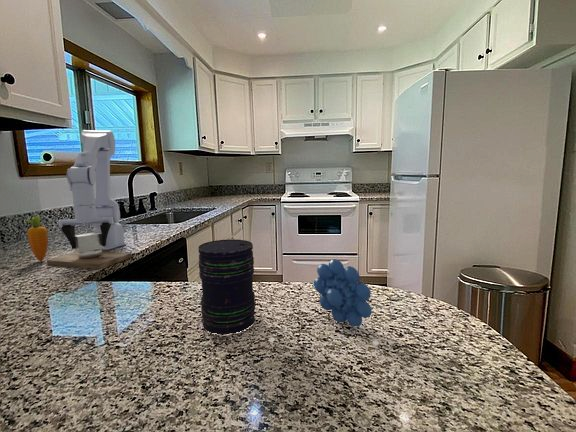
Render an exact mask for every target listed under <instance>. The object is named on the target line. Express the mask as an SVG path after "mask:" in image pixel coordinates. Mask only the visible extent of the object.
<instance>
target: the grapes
mask: <svg viewBox="0 0 576 432" xmlns="http://www.w3.org/2000/svg"><path fill="white" fill-rule="evenodd" d="M316 272H317V275H318V277H316V278H315V279H314V280H313V287H314V289H315V291H317V293H318V294H320V296H319V298H318V299H319V300H318V301H319V304H320V306H321V307H322V308H323V309H324V310H326V311H331V315H332V319H334V321H335V322H336V321H337V322H336V323H338V322H345V321H346V322H348V323H349V325H351V326H352V325H353V326H352V327H354V326H357V327H360V326H361V325H362V323H363V319H367V318H370V317H371V316H372V311H373V310H372V307H371V304H370V303H369V302H368V301H369V300H370V298H371V295H372V293H371V290H370V287H369V286H368V285H367V284H366V283H364V282H361V281H360V279H361V278H360V273H359V271H358V270H357V269H356V268H355V267H353V266H351V265H350V266H346V267H344V265H343V262H341V261H340V260H339V259H336V258H334V259H331V260H330V261H329V262H328V264H326V263H320V264H318V267H317V268H316ZM346 322H345V323H346Z"/></svg>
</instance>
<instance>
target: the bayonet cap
mask: <svg viewBox="0 0 576 432" xmlns="http://www.w3.org/2000/svg"><path fill="white" fill-rule="evenodd" d="M73 237H74V244H75V249H74V251H75V252H78V257H79V258H93V257H97V256H100V255H102V251H103V250H102V248H104V246H103V245H102V233H100V232H95V231H94V232H90V233H89V232H88V233H82V234H75V236H73Z"/></svg>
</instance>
